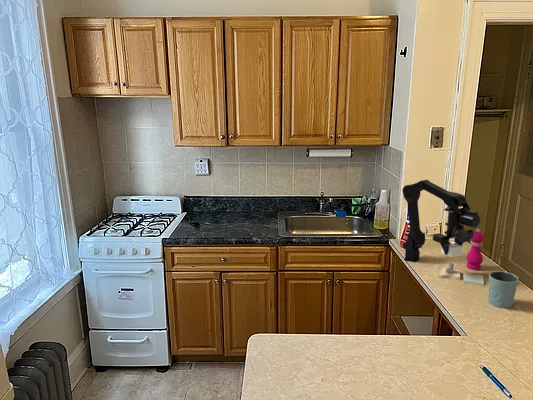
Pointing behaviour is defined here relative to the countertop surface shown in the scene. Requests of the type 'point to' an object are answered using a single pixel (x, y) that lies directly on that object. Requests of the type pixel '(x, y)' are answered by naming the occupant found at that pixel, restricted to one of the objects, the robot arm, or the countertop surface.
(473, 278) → the pad
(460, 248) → the white cabinet cube
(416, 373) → the countertop surface
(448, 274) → the post base
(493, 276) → the teal plant pot
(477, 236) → the pepper mill
